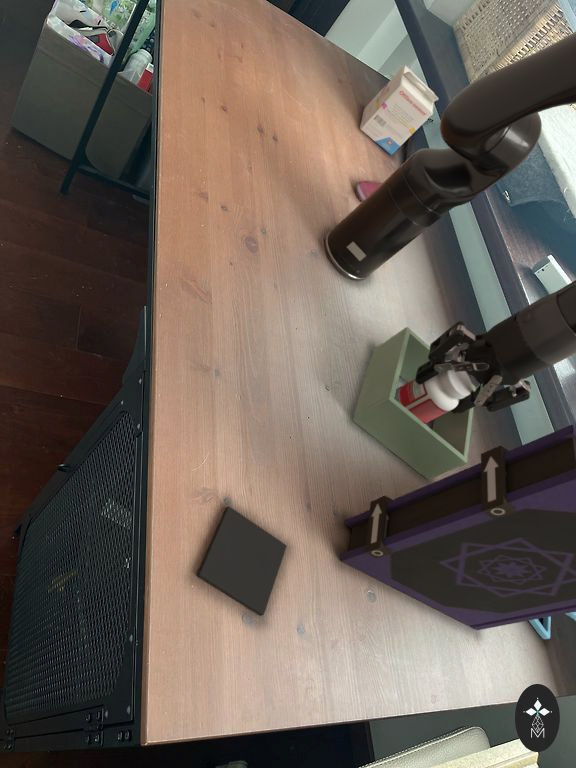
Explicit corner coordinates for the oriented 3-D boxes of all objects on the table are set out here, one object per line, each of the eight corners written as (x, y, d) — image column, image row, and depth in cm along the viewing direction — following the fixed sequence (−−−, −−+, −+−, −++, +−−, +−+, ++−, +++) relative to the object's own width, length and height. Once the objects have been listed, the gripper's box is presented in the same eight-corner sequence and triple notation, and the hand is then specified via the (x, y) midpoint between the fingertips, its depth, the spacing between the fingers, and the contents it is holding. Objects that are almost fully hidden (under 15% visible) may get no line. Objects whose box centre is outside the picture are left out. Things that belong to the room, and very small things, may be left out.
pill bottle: (421, 425, 91) (482, 394, 83) (398, 436, 87) (460, 405, 79) (401, 388, 92) (459, 354, 84) (378, 397, 88) (437, 363, 80)
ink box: (393, 135, 129) (442, 86, 120) (390, 156, 124) (441, 107, 114) (363, 108, 126) (411, 56, 117) (358, 128, 120) (408, 76, 111)
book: (475, 586, 83) (713, 526, 62) (476, 633, 79) (729, 587, 58) (342, 513, 74) (568, 416, 53) (335, 563, 70) (576, 478, 50)
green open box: (373, 349, 92) (407, 326, 87) (440, 406, 96) (476, 387, 91) (352, 420, 82) (388, 399, 78) (427, 480, 86) (467, 463, 82)
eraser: (360, 204, 108) (367, 197, 107) (351, 184, 109) (358, 178, 108) (399, 208, 116) (406, 202, 115) (391, 190, 117) (397, 183, 116)
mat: (225, 507, 65) (228, 505, 64) (283, 546, 67) (287, 545, 66) (196, 576, 59) (199, 574, 59) (260, 616, 61) (263, 615, 61)
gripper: (578, 350, 78) (472, 404, 89) (502, 278, 74) (402, 343, 85) (579, 392, 73) (467, 443, 84) (499, 316, 69) (392, 381, 80)
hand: (435, 393), depth 85 cm, fingers closed on pill bottle, 6 cm apart
